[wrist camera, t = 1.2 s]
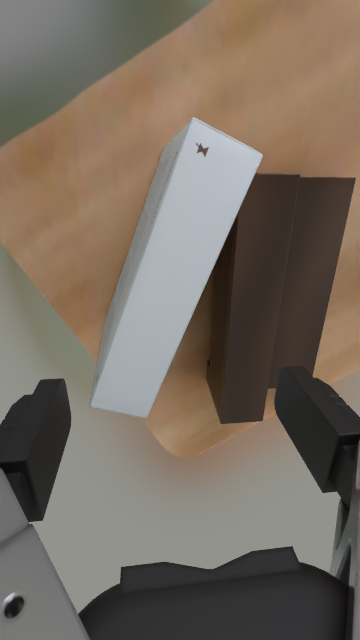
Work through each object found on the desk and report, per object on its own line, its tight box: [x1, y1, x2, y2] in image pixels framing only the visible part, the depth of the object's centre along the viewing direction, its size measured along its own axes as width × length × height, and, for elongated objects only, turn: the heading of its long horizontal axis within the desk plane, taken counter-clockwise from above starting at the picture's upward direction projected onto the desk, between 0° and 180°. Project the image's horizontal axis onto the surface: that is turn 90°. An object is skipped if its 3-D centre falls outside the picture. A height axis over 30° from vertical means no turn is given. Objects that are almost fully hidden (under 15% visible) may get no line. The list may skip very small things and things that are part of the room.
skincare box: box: [89, 117, 263, 418], centre depth 28 cm, size 21×6×16 cm, turn 158°
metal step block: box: [206, 173, 356, 424], centre depth 34 cm, size 14×26×9 cm, turn 179°
